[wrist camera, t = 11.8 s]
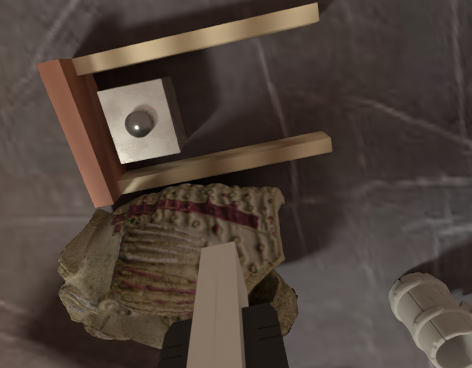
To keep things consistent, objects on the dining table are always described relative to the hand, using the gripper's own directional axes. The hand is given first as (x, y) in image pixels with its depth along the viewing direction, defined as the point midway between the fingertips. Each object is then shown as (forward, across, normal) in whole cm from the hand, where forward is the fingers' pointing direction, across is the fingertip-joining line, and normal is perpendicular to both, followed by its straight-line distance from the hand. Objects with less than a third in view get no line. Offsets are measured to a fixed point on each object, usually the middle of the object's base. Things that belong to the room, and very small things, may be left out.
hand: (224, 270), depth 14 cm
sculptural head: (+24, -6, -11) cm, 28 cm away
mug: (+24, +23, -27) cm, 43 cm away
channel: (+24, -1, +5) cm, 24 cm away
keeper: (+24, -7, +5) cm, 26 cm away
